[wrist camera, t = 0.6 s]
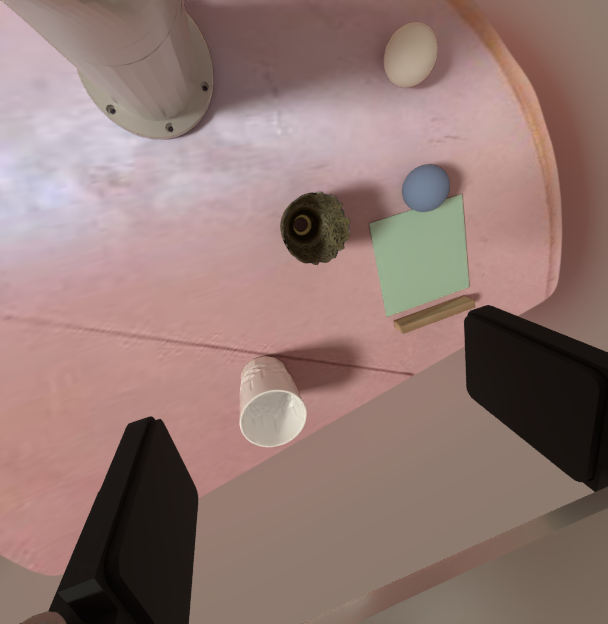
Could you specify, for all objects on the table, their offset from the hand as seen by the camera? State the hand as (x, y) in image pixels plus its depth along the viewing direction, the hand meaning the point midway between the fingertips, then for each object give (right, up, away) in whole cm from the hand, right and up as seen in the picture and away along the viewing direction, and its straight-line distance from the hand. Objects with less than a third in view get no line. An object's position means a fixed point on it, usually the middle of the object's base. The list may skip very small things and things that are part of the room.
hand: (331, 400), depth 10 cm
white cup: (-7, -7, +37) cm, 39 cm away
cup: (-1, +14, +32) cm, 35 cm away
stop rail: (+19, +3, +40) cm, 44 cm away
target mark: (+16, +10, +37) cm, 42 cm away
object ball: (+14, +18, +31) cm, 39 cm away
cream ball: (+11, +31, +26) cm, 41 cm away
